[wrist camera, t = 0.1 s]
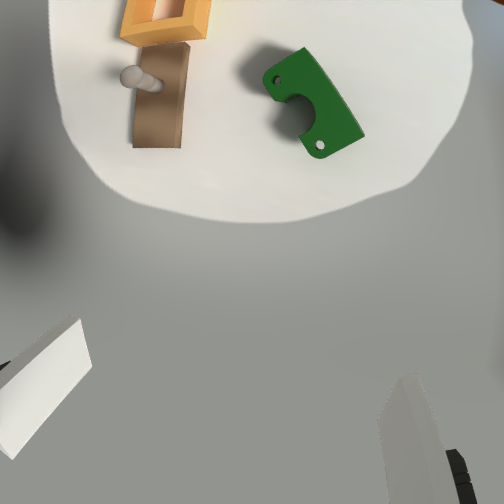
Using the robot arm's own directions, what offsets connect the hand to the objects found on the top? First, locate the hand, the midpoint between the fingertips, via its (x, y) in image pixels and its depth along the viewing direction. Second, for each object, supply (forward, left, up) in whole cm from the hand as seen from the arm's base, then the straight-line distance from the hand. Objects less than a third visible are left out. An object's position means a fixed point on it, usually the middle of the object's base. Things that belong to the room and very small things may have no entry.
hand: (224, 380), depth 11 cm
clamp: (-14, +3, -28) cm, 32 cm away
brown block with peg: (-15, -16, -28) cm, 36 cm away
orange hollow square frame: (-28, -16, -28) cm, 43 cm away
